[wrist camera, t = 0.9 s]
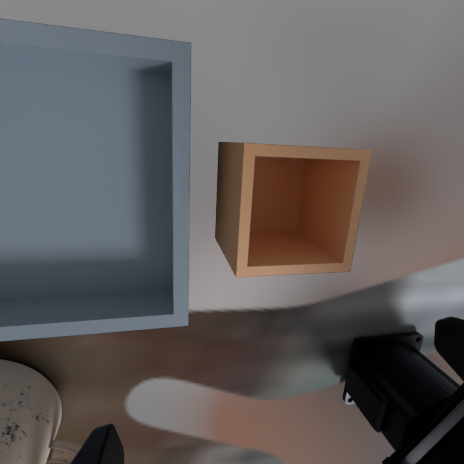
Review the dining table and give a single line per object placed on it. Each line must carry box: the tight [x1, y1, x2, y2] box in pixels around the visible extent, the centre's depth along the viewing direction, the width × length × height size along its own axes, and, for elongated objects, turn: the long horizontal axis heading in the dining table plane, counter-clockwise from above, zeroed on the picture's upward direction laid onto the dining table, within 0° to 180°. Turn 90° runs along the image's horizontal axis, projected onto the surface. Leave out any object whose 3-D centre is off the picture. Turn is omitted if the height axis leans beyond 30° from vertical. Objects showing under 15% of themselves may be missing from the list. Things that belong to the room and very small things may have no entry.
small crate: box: [215, 142, 372, 277], centre depth 16 cm, size 6×6×6 cm
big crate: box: [0, 19, 191, 341], centre depth 15 cm, size 14×14×4 cm
